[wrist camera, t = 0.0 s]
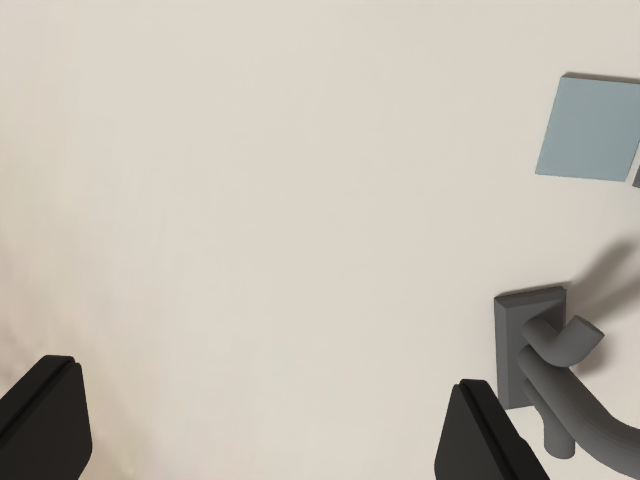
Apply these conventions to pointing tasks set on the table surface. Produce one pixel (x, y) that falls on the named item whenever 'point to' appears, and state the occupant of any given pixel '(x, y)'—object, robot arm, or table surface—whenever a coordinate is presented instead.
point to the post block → (637, 179)
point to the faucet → (557, 378)
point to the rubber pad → (591, 130)
